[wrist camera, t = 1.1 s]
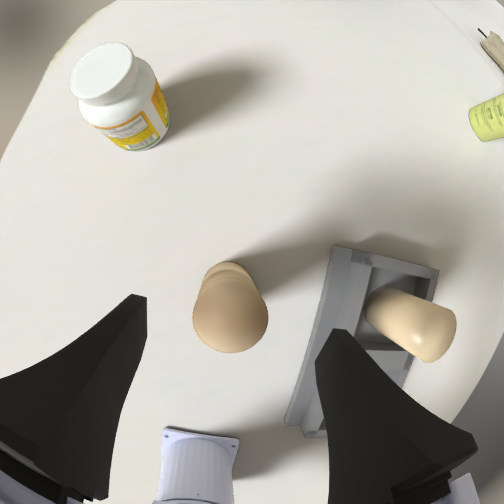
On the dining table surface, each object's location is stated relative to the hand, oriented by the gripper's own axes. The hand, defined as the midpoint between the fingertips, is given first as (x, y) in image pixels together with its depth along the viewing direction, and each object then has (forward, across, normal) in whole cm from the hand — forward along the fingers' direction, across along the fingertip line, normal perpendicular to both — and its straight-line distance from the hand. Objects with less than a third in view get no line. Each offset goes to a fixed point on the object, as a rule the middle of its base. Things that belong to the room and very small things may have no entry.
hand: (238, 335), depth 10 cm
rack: (+9, -14, +9) cm, 19 cm away
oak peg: (+11, 0, +5) cm, 12 cm away
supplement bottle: (+16, +10, -6) cm, 19 cm away
